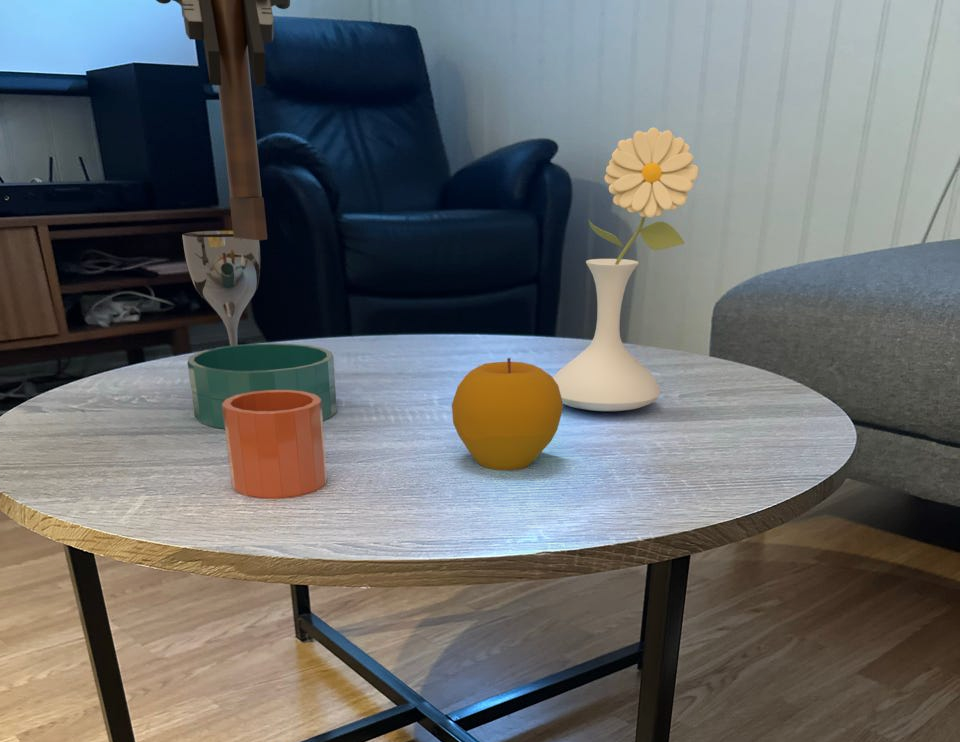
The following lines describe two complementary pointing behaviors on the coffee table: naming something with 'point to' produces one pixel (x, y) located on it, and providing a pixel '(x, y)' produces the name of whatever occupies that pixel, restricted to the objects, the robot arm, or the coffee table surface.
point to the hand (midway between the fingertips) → (237, 68)
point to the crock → (275, 443)
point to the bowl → (259, 375)
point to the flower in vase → (628, 271)
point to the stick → (239, 122)
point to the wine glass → (224, 273)
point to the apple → (506, 413)
